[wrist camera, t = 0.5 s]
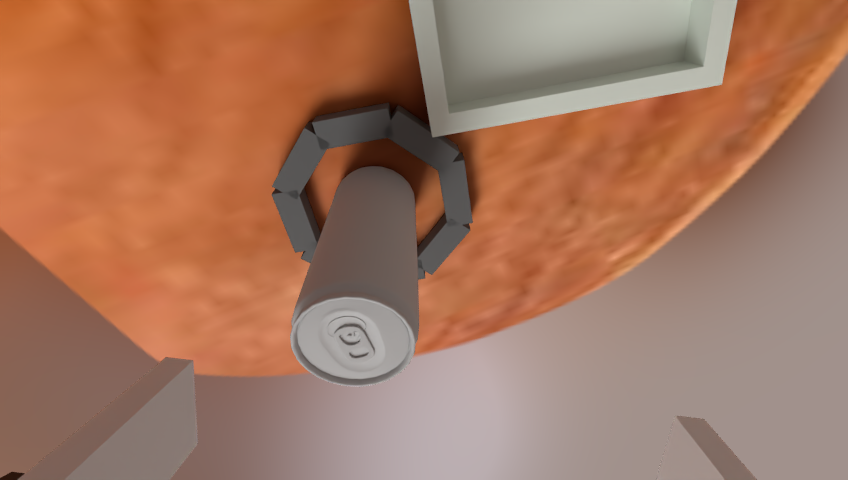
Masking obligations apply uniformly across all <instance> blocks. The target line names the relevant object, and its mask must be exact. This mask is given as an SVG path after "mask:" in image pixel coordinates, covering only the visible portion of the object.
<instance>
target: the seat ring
mask: <svg viewBox="0 0 848 480" xmlns="http://www.w3.org/2000/svg"><path fill="white" fill-rule="evenodd" d="M383 138H389V139H390V140H392V141H393V142H395V143H396V144H398V145H400V146H401V147H403V148H404V149H406V150H407V151H409V152H410V153H412V154H413V155H415V156H416V157H418V158H419V159H421V160H423V161H424V162H426V163H427V164H429V165H430V166H432V167H433V168H435V169H436V170H438V172H439V178H440V184H441V190H442V196H443V201H444V207H445V214H444V215H443V217H442V218H441V219H440V220H439V222H438V223H437V224H436V225H435V227H434V228H433V229H432V230H431V231H430V233H429V234H428V235H427V236H426V238H425V239H424V240H423V241H422V243H421V244H420V245H419V246H418V248H417V261H418V279H425V271H426V272H428V273H430V274H431V275H432V274H433V273H434V272H435V271H436V270H437V268H438V267H439V266H440V265H441V264H442V263H443V261H444V260H445V259H446V258H447V257H448V256H449V254H450V253H451V252H452V251H453V250H454V249H455V248H456V246H457V245H458V244H459V243H460V242H461V241H462V239H463V238H464V237H465V236H466V235H467V234H468V232H469V231H470V226H469V223H473V221H472V214H471V206H470V199H469V192H468V184H467V177H466V169H465V162H464V158H463V154H462V153H460V152H459V149H458V145H456V144H455V143H453V142H452V141H450V140H449V139H448V138H446V137H445V136H438V137H432V133H431V127H430V126H429V125H427V124H426V123H424V122H423V121H421V120H420V119H419V118H417V117H416V116H414V115H413V114H411V113H410V112H408V111H407V110H405V109H404V108H403V107H401V106H400V105H398V106H397V107H396V109H395V110H394V112H393V113H392V115H391V111H390V106H389V103H384V104H378V105H373V106H368V107H362V108H357V109H352V110H347V111H341V112H336V113H331V114H326V115H320V116H316V118H315V119H314V121H313V122H312V123H311V122H308V124H307V125H306V126H305V128H304V130H303V131H302V133H301V135H300V137H299V139H298V140H297V142H296V144H295V146H294V148H293V149H292V151H291V153H290V155H289V157H288V158H287V160H286V162H285V164H284V166H283V167H282V169H281V171H280V173H279V175H278V176H277V178H276V180H275V182H274V184H273V185H272V187H274V188H276V189H275V190H274V192H273V193H272V197H273V199H274V201H275V204H276V206H277V209H278V211H279V214H280V216H281V219H282V221H283V224H284V226H285V229H286V231H287V234H288V236H289V238H290V241H291V243H292V246H293V248H294V251H295V253H296V252H302V251H304V252H303V254H302V257H301V259H303V260H305V261H307V262H309V263H311V261H312V258H313V255H314V252H315V250H316V247H317V244H318V241H319V238H320V235H321V233H320V231H319V228H318V225H317V222H316V219H315V217H314V214H313V211H312V208H311V205H310V203H309V200H308V197H307V194H306V191H305V189H304V186H305V185H306V183H307V181H308V180H309V178H310V176H311V175H312V173H313V171H314V170H315V168H316V166H317V165H318V163H319V161H320V160H321V158H322V156H323V155H324V153H325V151H326V150H327V149H329V148H335V147H340V146H345V145H351V144H356V143H362V142H367V141H373V140H378V139H383Z"/></svg>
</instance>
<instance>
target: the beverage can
mask: <svg viewBox="0 0 848 480" xmlns="http://www.w3.org/2000/svg"><path fill="white" fill-rule="evenodd" d="M291 322H292V331H291V334H290V338H291V348H292V350H293V352H294V354H295V356H296V358H297V360H298V361H299V362H300V363H301V364H302V366H303V367H304V368H305V369H306V370H308V371H309V372H311V373H312V374H314V375H315V376H317V377H318V378H321V379H323V380H326V381H328V382H330V383H335V384H339V385H344V386H369V385H376V384H379V383H381V382H384V381H387V380H390V379H391V378H393V377H395V376H396V375H398V374H399V373H401V372H402V371H403V370H404V369H405V368H406V366H407V365H408V364H409V363H410V361H411V359H412V357H413V355H414V353H415V344H416V342H417V340H418V331H419V300H418V261H417V238H416V215H415V197H414V192H413V190H412V188H411V186H410V184H409V183H408V182H407V181H406V180H405V179H404V177H403V176H401V175H400V174H398V173H397V172H395V171H393V170H391V169H388V168H385V167H379V166H368V167H363V168H359V169H357V170H355V171H353V172H351V173H350V174H348V175H347V176H346V177H345V178H344V179H343V180H342V181H341V183H340V184H339V186H338V188H337V190H336V193H335V196H334V199H333V202H332V204H331V207H330V210H329V213H328V216H327V219H326V221H325V224H324V227H323V230H322V233H321V235H320V238H319V241H318V244H317V247H316V250H315V252H314V255H313V258H312V261H311V264H310V267H309V269H308V272H307V275H306V278H305V281H304V284H303V286H302V289H301V292H300V295H299V298H298V300H297V303H296V306H295V310H294V313H293V317H292V321H291Z"/></svg>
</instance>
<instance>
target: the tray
mask: <svg viewBox="0 0 848 480" xmlns="http://www.w3.org/2000/svg"><path fill="white" fill-rule="evenodd" d="M736 4H737V0H409V5H410V11H411V17H412V23H413V29H414V34H415V40H416V46H417V52H418V58H419V63H420V69H421V75H422V81H423V87H424V93H425V98H426V104H427V110H428V116H429V122H430V127H431V133H432V137H438V136H443V135H449V134H454V133H460V132H465V131H471V130H476V129H482V128H487V127H493V126H498V125H504V124H509V123H514V122H520V121H525V120H531V119H536V118H542V117H547V116H553V115H558V114H564V113H569V112H575V111H580V110H586V109H591V108H597V107H602V106H607V105H613V104H618V103H624V102H629V101H635V100H640V99H646V98H651V97H657V96H662V95H668V94H673V93H679V92H684V91H690V90H695V89H700V88H706V87H711V86H717V85H722V81H723V75H724V70H725V64H726V59H727V53H728V48H729V42H730V37H731V32H732V26H733V21H734V15H735V10H736Z"/></svg>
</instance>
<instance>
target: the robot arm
mask: <svg viewBox="0 0 848 480" xmlns="http://www.w3.org/2000/svg"><path fill="white" fill-rule="evenodd" d="M197 444H198V435H197V418H196V402H195V383H194V366H193V360H186V359H177V358H168V357H166V358H164V359H163V360H162V361H161V362H160V363H158V364H157V365H156V366H155V367H154V368H152V369H151V370H150V371H149V372H148V373H146V374H145V375H144V376H143V377H141V378H140V379H139V380H138V381H137V382H135V383H134V384H133V385H132V386H131V387H130V388H128V389H127V390H126V391H124V392H123V393H122V394H121V395H120V396H118V397H117V398H116V399H115V400H114V401H112V402H111V403H110V404H109V405H107V406H106V407H105V408H104V409H103V410H101V411H100V412H99V413H98V414H97V415H95V416H94V417H93V418H92V419H91V420H89V421H88V422H87V423H86V424H85V425H83V426H82V427H81V428H80V429H78V430H77V431H76V432H75V433H74V434H72V435H71V436H70V437H69V438H67V439H66V440H65V441H64V442H63V443H61V444H60V445H59V446H58V447H57V448H55V449H54V450H53V451H52V452H51V453H49V454H48V455H47V456H46V457H45V458H43V459H42V460H41V461H40V462H38V463H37V464H36V465H35V466H34V467H32V468H31V469H30V470H29V471H28V472H26V473H17V472H11V473H9V474H7V475H5V476H3V477H1V478H0V480H170V479H171V478H172V476H173V475H174V474H175V472H176V471H177V470H178V468H179V467H180V466H181V465H182V463H183V462H184V461H185V460H186V458H187V457H188V456H189V454H190V453H191V452H192V451H193V449H194V448H195V447H196V445H197ZM656 480H757V479H756V478H755V477H754V476H753V475H752V473H751V472H750V471H749V470H748V469H747V468H746V467H745V465H744V464H743V463H742V462H741V461H740V460H739V459H738V458H737V456H736V455H735V454H734V453H733V452H732V451H731V449H730V448H729V447H728V446H727V445H726V444H725V442H723V440H722V439H721V438H720V437H719V436H718V434H717V433H716V432H715V431H714V430H713V429H712V428H711V427H710V425H709V424H708V423H707V422H706V421H705V420H704V419H700V418H691V417H682V416H675V417H674V421H673V424H672V427H671V431H670V434H669V437H668V441H667V444H666V448H665V451H664V454H663V458H662V461H661V465H660V468H659V471H658V475H657V478H656Z"/></svg>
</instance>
